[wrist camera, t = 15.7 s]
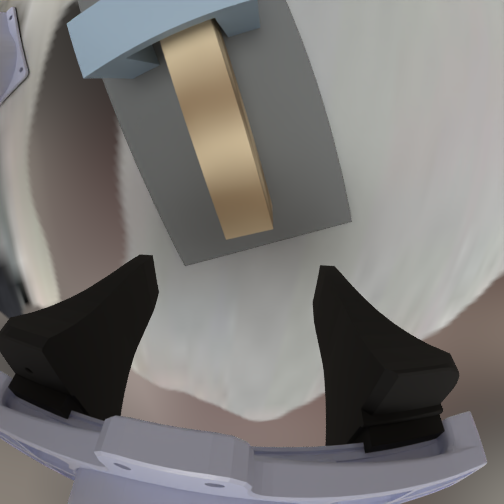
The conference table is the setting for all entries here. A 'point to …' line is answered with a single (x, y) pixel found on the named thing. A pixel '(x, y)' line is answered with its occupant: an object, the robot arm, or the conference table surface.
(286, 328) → the conference table surface
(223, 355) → the conference table surface
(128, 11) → the light blue u-channel
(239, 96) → the tan wooden bar
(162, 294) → the conference table surface
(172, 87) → the mat
